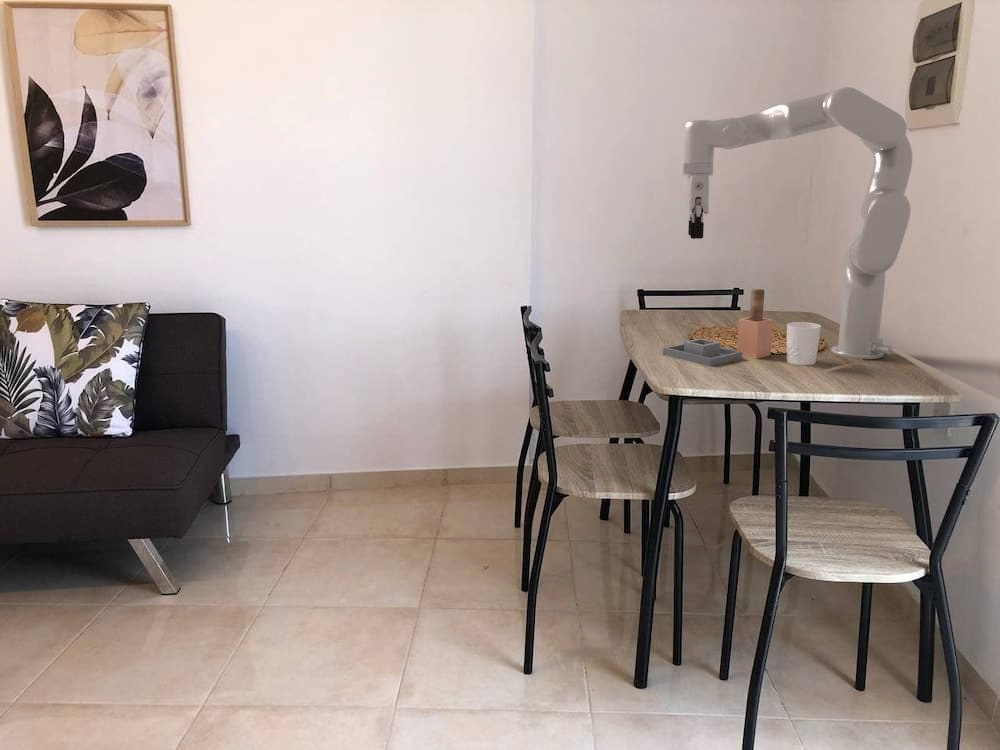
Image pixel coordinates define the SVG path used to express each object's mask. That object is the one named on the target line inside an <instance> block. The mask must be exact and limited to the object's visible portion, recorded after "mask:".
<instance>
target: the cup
mask: <svg viewBox="0 0 1000 750" xmlns="http://www.w3.org/2000/svg"><path fill="white" fill-rule="evenodd" d="M749 319H750V316H748V317H744V318H739V319H738V329H737V330H738V331H737V342H736V343H737V345H736V351H740V352H742V357H746V358H751V359H760V358H765V357H769V356H771V355H772V354H771V352H772V341H773V339H772V338H773V329H774V327H773V326H774V320H773V319H771V318H765V317H763V320H762V321H759V322H757V321H751V320H749Z"/></svg>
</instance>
